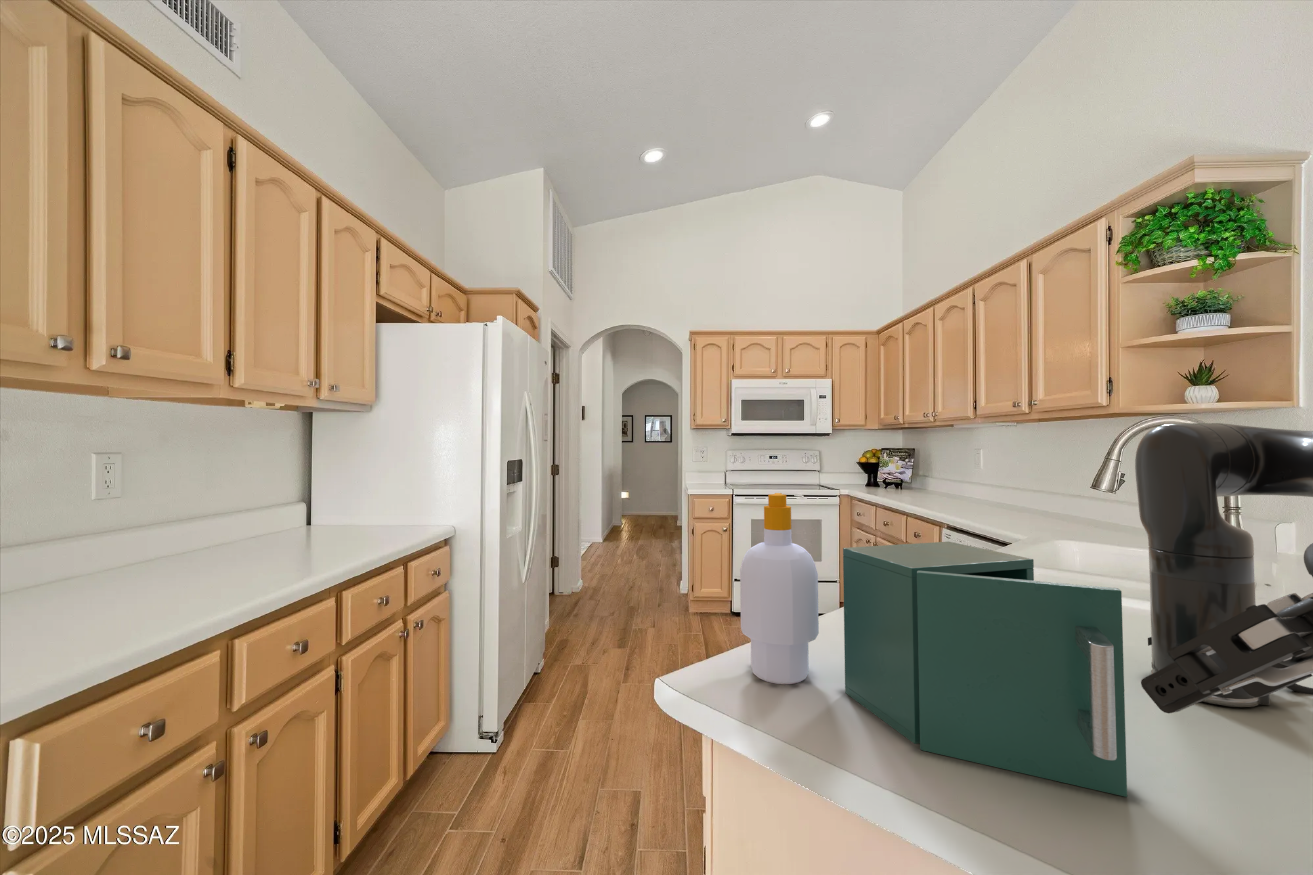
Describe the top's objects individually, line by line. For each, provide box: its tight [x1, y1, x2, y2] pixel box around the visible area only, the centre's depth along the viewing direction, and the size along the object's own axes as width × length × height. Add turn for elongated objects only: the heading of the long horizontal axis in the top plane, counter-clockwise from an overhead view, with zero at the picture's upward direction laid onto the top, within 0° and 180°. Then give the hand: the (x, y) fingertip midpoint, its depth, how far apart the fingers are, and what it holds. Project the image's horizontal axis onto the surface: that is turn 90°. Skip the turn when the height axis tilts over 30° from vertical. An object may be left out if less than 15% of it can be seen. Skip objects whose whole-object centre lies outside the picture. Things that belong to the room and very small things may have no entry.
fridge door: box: [917, 571, 1128, 798], centre depth 48 cm, size 6×16×18 cm, turn 62°
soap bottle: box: [739, 492, 820, 685], centre depth 72 cm, size 10×10×24 cm
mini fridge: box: [842, 541, 1035, 745], centre depth 62 cm, size 12×16×18 cm
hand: (1199, 689), depth 37 cm, fingers open, 8 cm apart
